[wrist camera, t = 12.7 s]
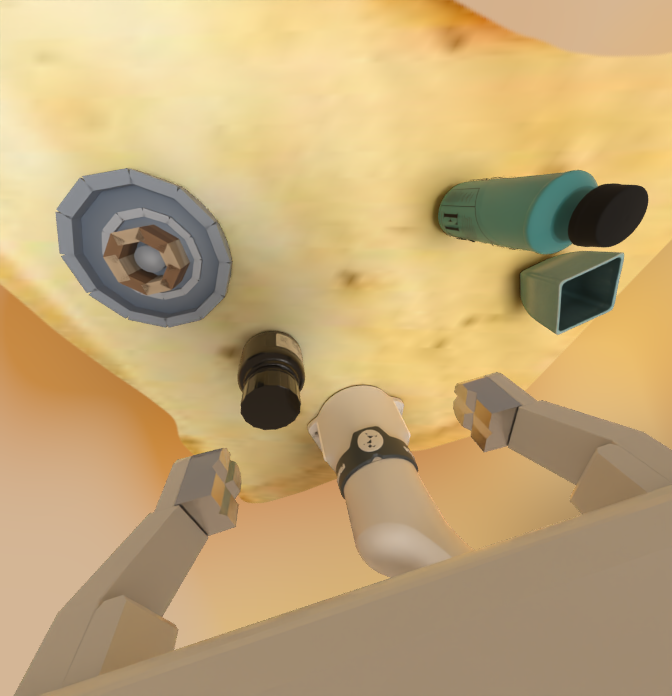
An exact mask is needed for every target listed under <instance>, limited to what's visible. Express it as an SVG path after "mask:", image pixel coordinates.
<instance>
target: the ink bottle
mask: <svg viewBox="0 0 672 696" xmlns="http://www.w3.org/2000/svg"><path fill="white" fill-rule="evenodd" d="M304 382H305V372H304V365H303V359H302V353H301V349H300V347H299V345H298V343H297V342H296V341H295V340H294V339H293V338H292V337H291V336H289V335H287V334H285V333H282V332H276V331H269V332H263V333H260V334H258V335H256V336H254V337H252V338H251V339H250V340H249V341H248V342H247V343H246V345H245V346H244V349H243V352H242V357H241V361H240V365H239V370H238V385H239V387H240V390H241V391H242V393H243V394H242V400H241V415H242V416H243V418H244V419H245V421H246V422H248V423H249V424H251V425H252V426H253V427H256V428H260V429H263V430H271V429H274V430H276V429H278V428H282V427H285V426H287V425H288V424H290V423H291V422H293V421H294V420H295V419H296V417H297V416H298V414H299V413H300V405H301V401H300V391H301V390H302V388H303V385H304Z"/></svg>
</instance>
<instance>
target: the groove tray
mask: <svg viewBox="0 0 672 696" xmlns="http://www.w3.org/2000/svg"><path fill="white" fill-rule="evenodd" d="M82 177H83V178H79V180H78V181H77V182H76V184H75V185H74V186H73V188H72V189H71V190H70V192H69V193H68V194H67V196H66V197H65V198H64V200H63V201H62V202H61V204H60V205H59V206H58V208H57V210H58V211H59V212H56V221H57V231H58V241H59V251H60V254H64V255H63V256H61V257H62V258H63V260H64V261H65V263H66V264H67V266H68V267H69V268H70V270H71V271H72V273H73V274H74V276H75V277H76V278H77V280H78V281H79V283H80V284H81V285H82V287H83V288H84V290H85V291H86V293H88V292H91V293H90V294H89V295H90V296H91V297H93V298H94V299H96V300H98V301H99V302H101V303H102V304H104V305H105V306H107V307H108V308H110V309H112V310H113V311H115V312H116V313H118V314H119V315H121V316H122V317H124V318H127V317H128V320H132V321H137V322H142V323H147V324H152V325H157V326H162V327H167V326H168V327H173V326H177V325H181V324H186V323H190V322H194V321H198V320H201V319H203V318H204V317H205V316H206V315H207V314H208V313H209V312H210V311H211V310H212V309H213V308H214V307H215V306H216V305H217V304H218V303H219V302H220V301H221V300H222V299H223V298H224V297H225V295H226V293H227V289H228V284H229V281H230V277H231V269H232V261H231V260H232V257H231V254H230V249H229V245H228V242H227V239H226V237H225V235H224V232H223V230H222V229H221V227H220V225H219V223H218V222H217V220H216V219H215V218H214V216H213V215H212V214H211V213H210V211H209V210H208V209H207V208H206V207H205V206H204V205H203V204H202V203H201V202H200V201H199V200H198V199H196V198H195V197H194V196H193V195H191V194H190V193H189V192H188V191H187V190H186V189H184V188H182V187H181V186H178V185H176V184H173V183H171V182H169V181H166V180H164V179H161V178H157V177H154V176H151V175H149V174H146V173H143V172H140V171H138V170H133V169H127V168H126V169H120V170H115V171H109V172H104V173H98V174H93V175H87V176H82ZM148 225H155V226H157V227H159V228H161V229H163V230H164V231H166V232H168V233H170V234H171V235H173V236H175V237H177V238H179V239H180V242H181V244H182V246H183V248H184V250H185V253H186V255H187V257H188V259H189V261H190V264H189V266H188V268H187V271H186V273H185V275H184V277H183V280H182V281H181V282H180V283H179V284H178V285H177V286H176V287H174V288H173V289H172V290H169V291H165V292H160V293H156V294H151V295H145V294H143V293H140V292H138V291H136V290H134V289H132V288H129V287H127V286H125V285H123V284H121V283H119V282H118V280H117V279H116V277H115V276H114V274H113V272H112V271H111V269H110V268H109V266H108V264H107V263H106V261H105V260H104V258H103V255H104V252H105V249H106V246H107V243H108V240H109V237H110V234H111V233H113V232H118V231H123V230H128V229H133V228H138V227H143V226H148ZM134 258H135V261H136V263H137V264H138V266H139V267H140V268H142V269H143V270H145V271H147V272H152V273H154V274H156V275H158V276H159V275H164V273H165V271H166V268H167V266H166V264H165V262H164V260H163V258H162V256H161V254H160V252H159V251H158V250H156V249H154V248H152V247H150V246H148V245H147V244H145V243H143V242H141V241H139V243H138V245H137V248H136V251H135V253H134Z"/></svg>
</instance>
